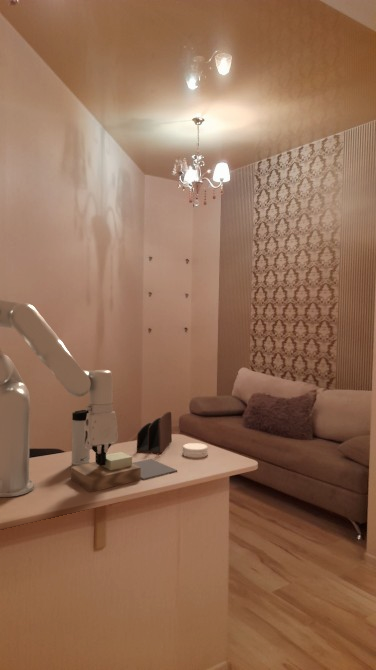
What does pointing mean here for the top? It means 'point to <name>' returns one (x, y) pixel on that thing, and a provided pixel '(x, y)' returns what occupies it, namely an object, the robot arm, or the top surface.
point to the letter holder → (155, 435)
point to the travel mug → (79, 439)
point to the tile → (117, 461)
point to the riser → (103, 476)
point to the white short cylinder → (195, 450)
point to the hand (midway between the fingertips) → (100, 464)
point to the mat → (153, 469)
